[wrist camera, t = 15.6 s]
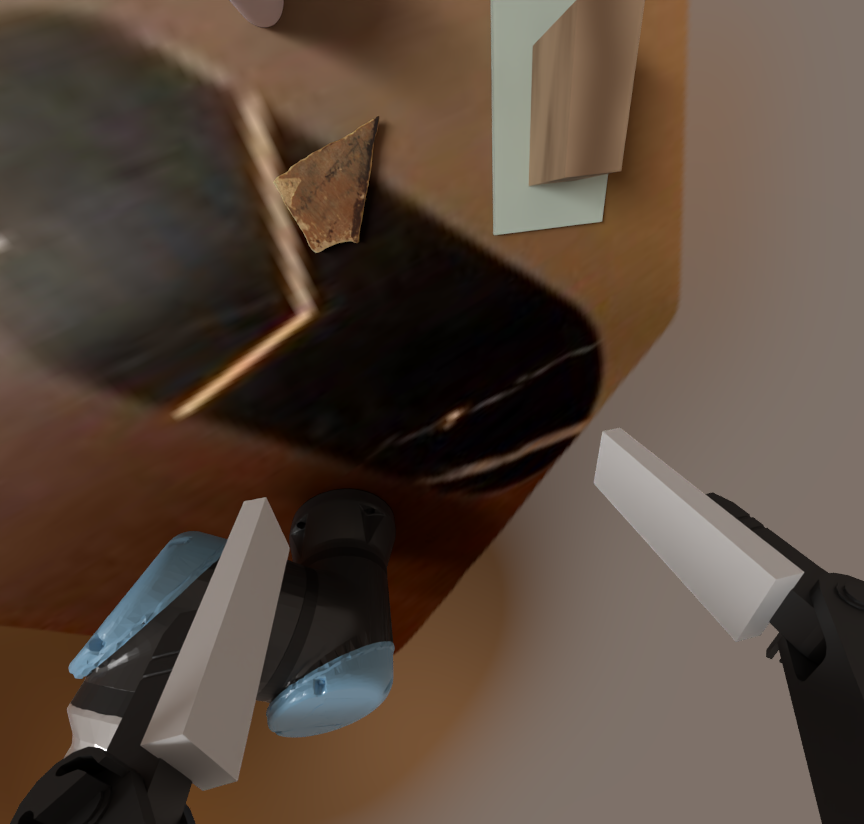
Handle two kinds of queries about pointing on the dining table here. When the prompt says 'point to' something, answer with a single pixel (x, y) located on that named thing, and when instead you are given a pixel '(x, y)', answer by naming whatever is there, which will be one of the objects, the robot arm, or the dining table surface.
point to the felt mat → (528, 128)
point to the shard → (331, 188)
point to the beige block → (583, 90)
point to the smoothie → (260, 11)
